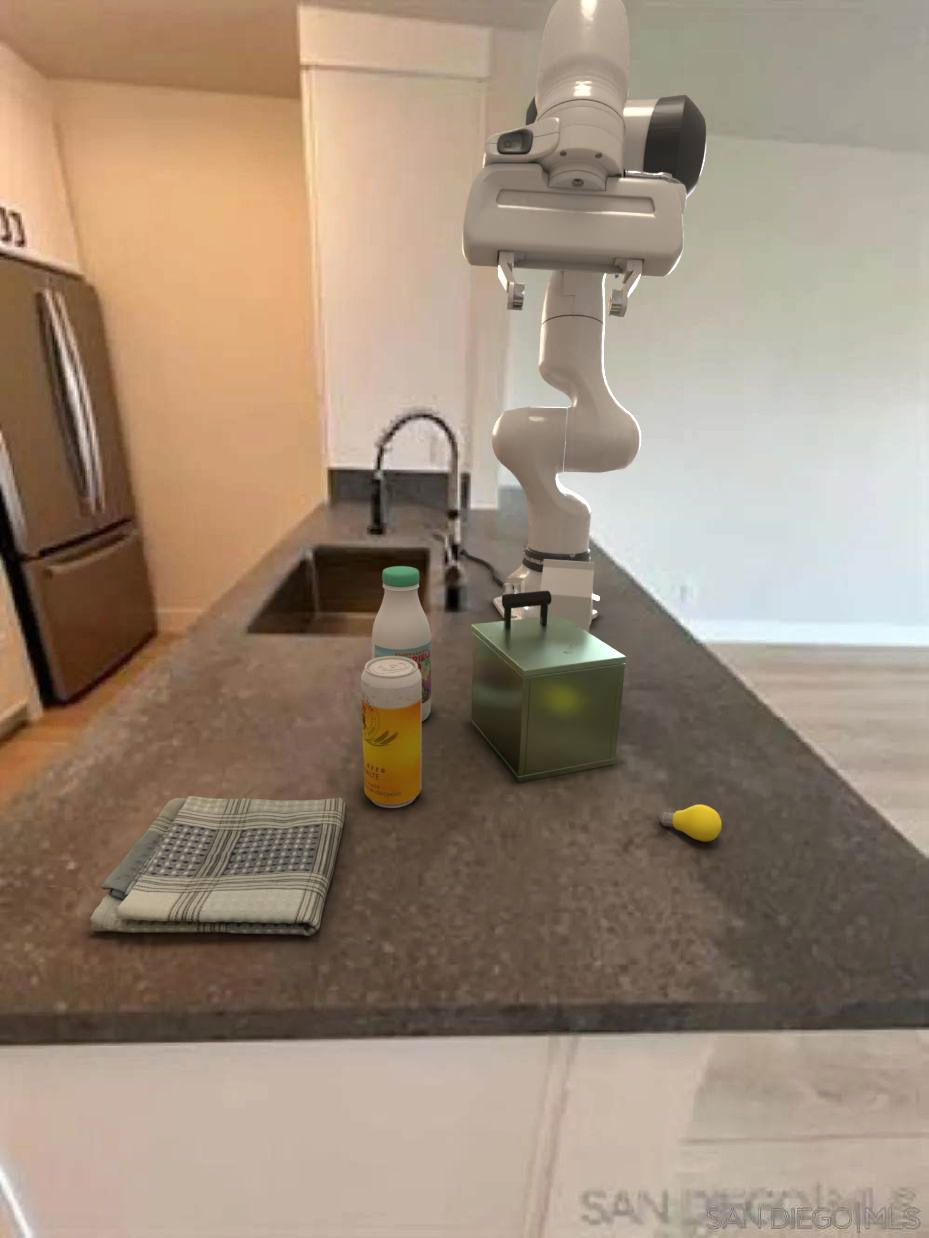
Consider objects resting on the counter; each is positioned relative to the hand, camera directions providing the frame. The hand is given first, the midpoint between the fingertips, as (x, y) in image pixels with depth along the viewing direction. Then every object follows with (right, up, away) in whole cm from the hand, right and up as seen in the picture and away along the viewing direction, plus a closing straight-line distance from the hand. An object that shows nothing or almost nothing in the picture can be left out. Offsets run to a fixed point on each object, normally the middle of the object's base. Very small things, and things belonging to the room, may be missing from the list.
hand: (565, 310), depth 62 cm
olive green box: (0, -44, +21) cm, 49 cm away
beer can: (-17, -48, +10) cm, 52 cm away
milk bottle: (-18, -42, +28) cm, 53 cm away
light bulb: (+13, -50, +5) cm, 52 cm away
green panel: (0, -32, +18) cm, 36 cm away
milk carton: (+5, -39, +38) cm, 55 cm away
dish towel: (-30, -51, -1) cm, 59 cm away
